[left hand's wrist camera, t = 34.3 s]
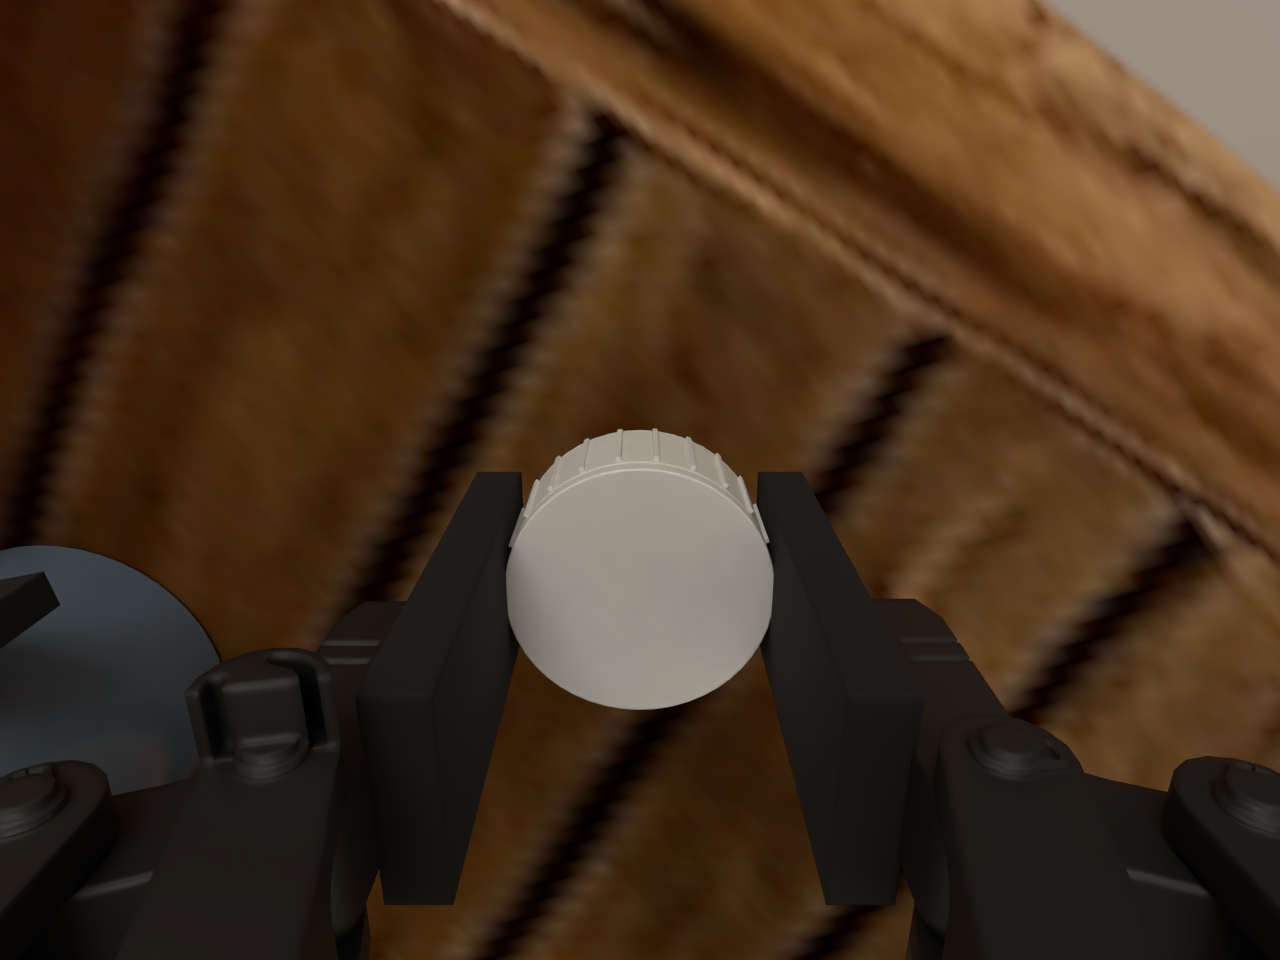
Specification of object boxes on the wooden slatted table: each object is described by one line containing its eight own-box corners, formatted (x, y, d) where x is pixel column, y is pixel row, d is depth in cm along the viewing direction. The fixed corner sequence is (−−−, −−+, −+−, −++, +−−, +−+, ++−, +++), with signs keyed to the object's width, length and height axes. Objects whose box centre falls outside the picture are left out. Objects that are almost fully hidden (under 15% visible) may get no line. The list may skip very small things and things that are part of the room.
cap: (618, 374, 13) (613, 406, 12) (811, 523, 14) (837, 575, 12) (471, 560, 15) (446, 616, 13) (658, 686, 16) (662, 756, 14)
